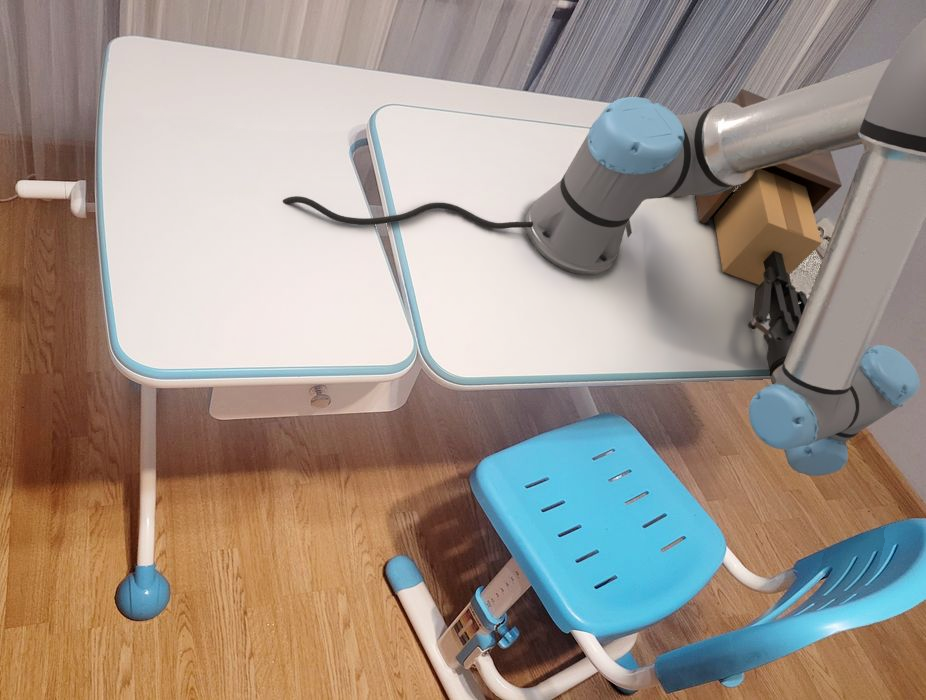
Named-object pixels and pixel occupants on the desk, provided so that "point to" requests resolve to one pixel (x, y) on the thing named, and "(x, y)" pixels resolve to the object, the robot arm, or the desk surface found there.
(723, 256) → the box
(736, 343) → the desk surface
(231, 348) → the desk surface
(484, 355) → the desk surface
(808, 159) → the cabinet
